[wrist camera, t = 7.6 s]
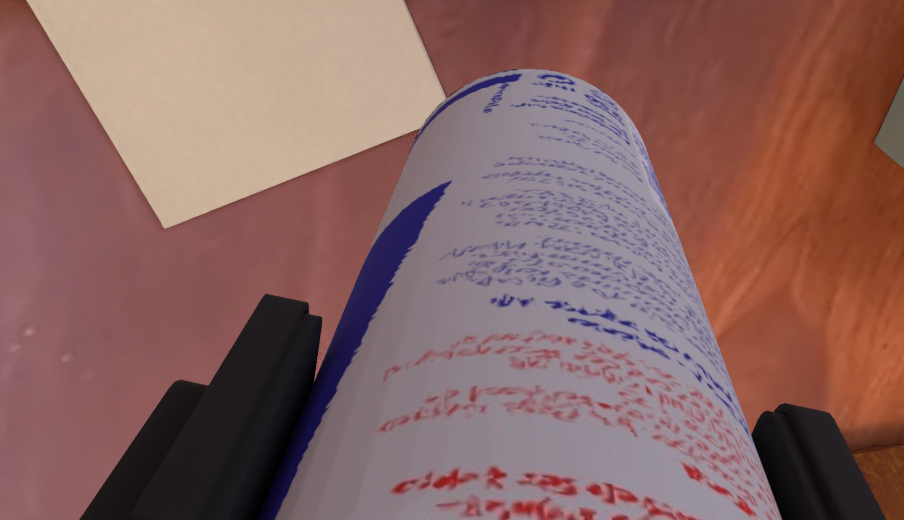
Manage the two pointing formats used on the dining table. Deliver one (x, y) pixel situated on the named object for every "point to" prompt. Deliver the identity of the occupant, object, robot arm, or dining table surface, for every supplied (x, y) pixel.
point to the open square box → (893, 129)
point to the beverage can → (523, 336)
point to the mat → (241, 88)
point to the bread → (884, 477)
